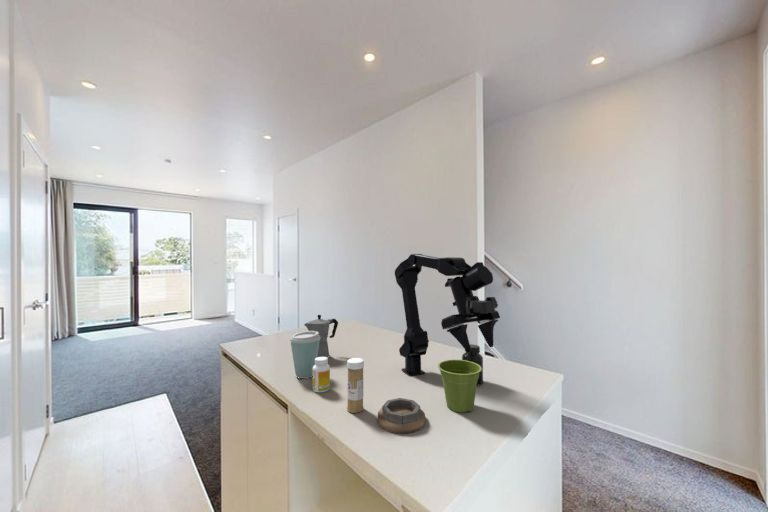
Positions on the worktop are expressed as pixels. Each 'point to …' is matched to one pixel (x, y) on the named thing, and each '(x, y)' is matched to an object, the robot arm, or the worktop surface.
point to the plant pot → (459, 383)
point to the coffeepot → (322, 333)
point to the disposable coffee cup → (305, 352)
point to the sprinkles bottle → (355, 385)
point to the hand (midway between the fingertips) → (480, 349)
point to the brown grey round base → (401, 416)
